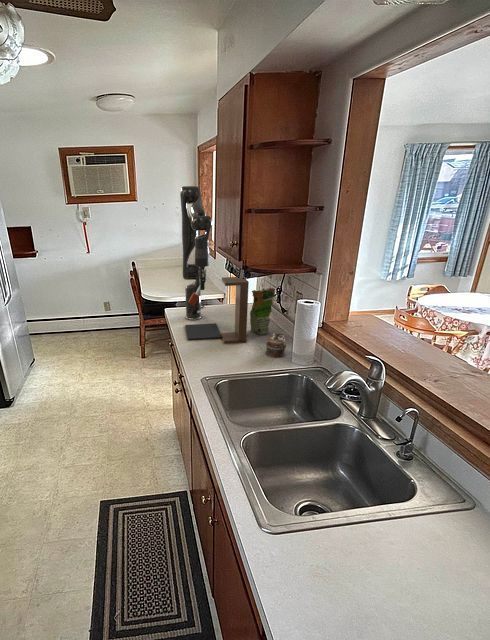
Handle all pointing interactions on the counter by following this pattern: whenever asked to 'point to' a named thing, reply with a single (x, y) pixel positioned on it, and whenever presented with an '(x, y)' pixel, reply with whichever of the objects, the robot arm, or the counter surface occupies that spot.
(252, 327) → the pouch
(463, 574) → the counter surface
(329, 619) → the counter surface
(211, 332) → the mat
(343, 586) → the counter surface
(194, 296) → the orange elongated piece
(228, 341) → the shelf
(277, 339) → the cupcake
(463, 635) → the counter surface
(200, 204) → the robot arm
